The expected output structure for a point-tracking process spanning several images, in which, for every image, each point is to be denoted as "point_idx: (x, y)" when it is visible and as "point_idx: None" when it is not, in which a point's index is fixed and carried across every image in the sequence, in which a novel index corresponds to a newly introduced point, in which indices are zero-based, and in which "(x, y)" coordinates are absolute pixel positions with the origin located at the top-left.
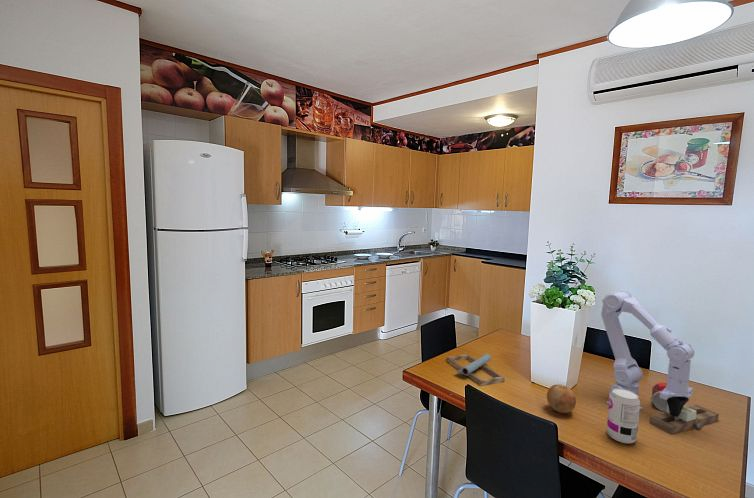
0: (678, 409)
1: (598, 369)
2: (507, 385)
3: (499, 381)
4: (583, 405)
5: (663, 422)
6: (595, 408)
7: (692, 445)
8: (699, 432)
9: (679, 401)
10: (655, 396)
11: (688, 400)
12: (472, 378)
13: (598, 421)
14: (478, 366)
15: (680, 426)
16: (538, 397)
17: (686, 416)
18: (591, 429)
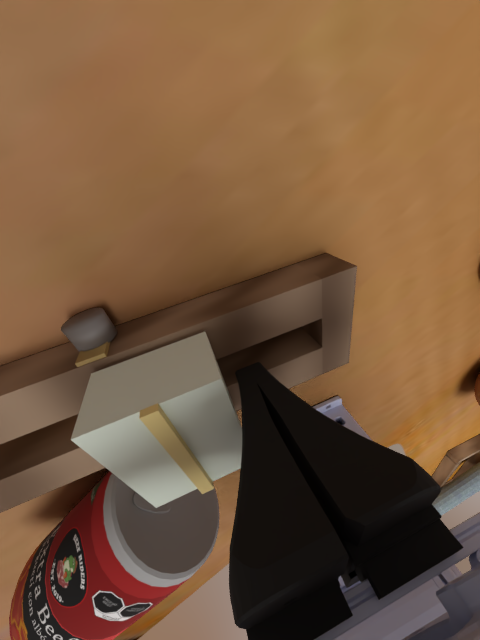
0: (296, 402)
1: (185, 584)
2: (456, 441)
3: (461, 448)
4: (408, 406)
5: (348, 315)
6: (396, 399)
7: (328, 116)
8: (124, 274)
9: (430, 479)
10: (210, 518)
11: (240, 560)
12: None
13: (466, 331)
14: (475, 477)
15: (272, 290)
16: (458, 414)
17: (214, 360)
18: None
